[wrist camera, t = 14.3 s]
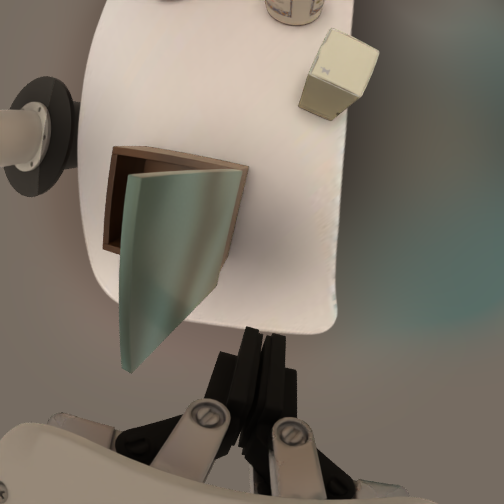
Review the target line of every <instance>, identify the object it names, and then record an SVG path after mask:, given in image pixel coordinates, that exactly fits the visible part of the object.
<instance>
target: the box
mask: <svg viewBox="0 0 504 504" xmlns="http://www.w3.org/2000/svg"><path fill="white" fill-rule="evenodd" d="M378 55H379V51H378V50H376V49H374V48H373V47H371V46H369V45H367V44H365V43H364V42H362V41H360V40H358V39H356V38H354V37H352V36H350V35H348V34H346V33H343V32H341V31H339V30H337V29H334V28H331V29H330V30H329V31H328V33H327V35H326V37H325V39H324V41H323V43H322V45H321V47H320V49H319V51H318V53H317V55H316V58H315V60H314V62H313V64H312V67H311V69H310V71H309V74H308V77H307V80H306V83H305V86H304V89H303V93H302V96H301V99H300V103H299V105H298V106H299V107H300V108H303V109H305V110H307V111H309V112H311V113H314V114H316V115H318V116H320V117H323V118H325V119H327V120H330V121H332V120H333V119H334V118H335V117H337V116H338V115H339V114H340V113H341V112H343V111H344V110H345V109H346V108H347V107H349V106H350V105H351V104H352V103H354V102H355V101H356V100H358V99H359V98H360V97H361V96H362V94H363V92H364V90H365V88H366V86H367V83H368V81H369V79H370V77H371V74H372V72H373V69H374V67H375V64H376V61H377V58H378Z"/></svg>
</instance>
